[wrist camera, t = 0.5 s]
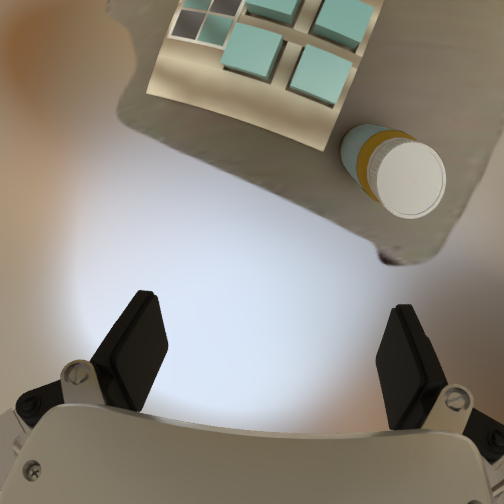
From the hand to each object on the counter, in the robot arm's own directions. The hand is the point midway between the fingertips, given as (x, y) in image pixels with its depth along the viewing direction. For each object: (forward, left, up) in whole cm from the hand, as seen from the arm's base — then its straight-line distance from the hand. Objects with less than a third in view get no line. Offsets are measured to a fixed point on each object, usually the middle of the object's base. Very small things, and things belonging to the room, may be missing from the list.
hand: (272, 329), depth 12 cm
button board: (-16, -8, -28) cm, 33 cm away
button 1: (-19, -8, -24) cm, 32 cm away
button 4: (-12, -1, -24) cm, 27 cm away
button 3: (-12, -8, -24) cm, 28 cm away
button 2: (-19, -1, -24) cm, 31 cm away
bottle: (-7, +8, -28) cm, 30 cm away
